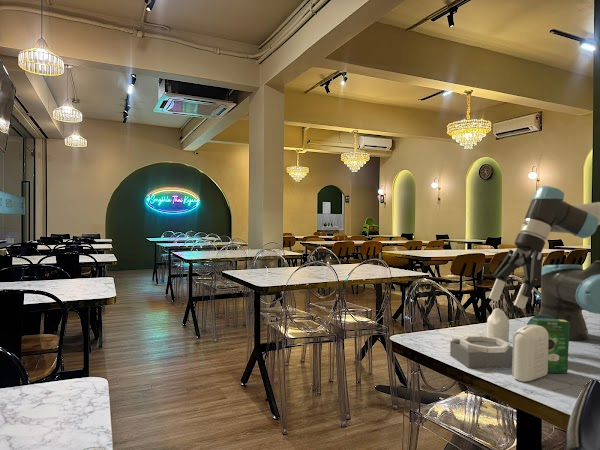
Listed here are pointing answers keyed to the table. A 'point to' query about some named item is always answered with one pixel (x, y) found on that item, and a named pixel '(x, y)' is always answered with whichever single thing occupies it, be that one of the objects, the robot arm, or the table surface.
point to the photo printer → (530, 353)
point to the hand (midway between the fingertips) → (505, 303)
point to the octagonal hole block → (481, 351)
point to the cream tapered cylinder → (498, 325)
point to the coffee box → (556, 343)
